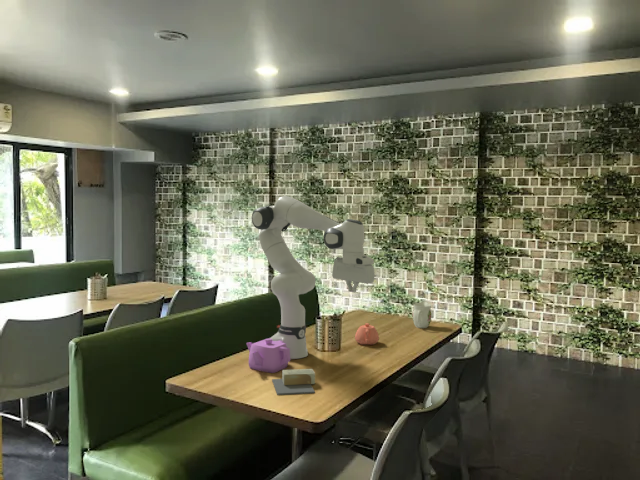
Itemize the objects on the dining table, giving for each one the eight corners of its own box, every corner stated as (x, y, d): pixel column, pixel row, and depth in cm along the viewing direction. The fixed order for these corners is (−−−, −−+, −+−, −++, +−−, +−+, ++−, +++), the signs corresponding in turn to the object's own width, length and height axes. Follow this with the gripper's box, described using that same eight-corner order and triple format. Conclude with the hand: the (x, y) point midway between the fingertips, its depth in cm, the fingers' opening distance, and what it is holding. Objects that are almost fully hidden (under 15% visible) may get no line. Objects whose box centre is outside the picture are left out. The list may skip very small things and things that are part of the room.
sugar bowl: (378, 340, 272) (379, 321, 271) (379, 347, 258) (379, 327, 258) (355, 339, 273) (355, 320, 273) (354, 346, 259) (354, 326, 259)
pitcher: (408, 329, 299) (409, 305, 298) (415, 323, 315) (416, 300, 315) (427, 331, 295) (428, 307, 294) (433, 325, 311) (434, 302, 310)
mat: (306, 379, 209) (306, 377, 209) (314, 393, 193) (314, 391, 193) (272, 380, 206) (272, 379, 206) (277, 395, 190) (277, 393, 190)
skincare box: (312, 379, 207) (281, 380, 205) (312, 368, 207) (282, 369, 205) (315, 384, 201) (283, 385, 199) (315, 373, 201) (283, 374, 199)
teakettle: (291, 372, 217) (292, 343, 217) (251, 374, 213) (251, 345, 212) (283, 360, 234) (284, 333, 233) (245, 362, 229) (246, 335, 229)
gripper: (329, 257, 221) (328, 289, 221) (367, 261, 207) (366, 295, 207) (339, 256, 225) (338, 288, 226) (377, 260, 211) (376, 294, 212)
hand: (352, 291), depth 217 cm, fingers closed
